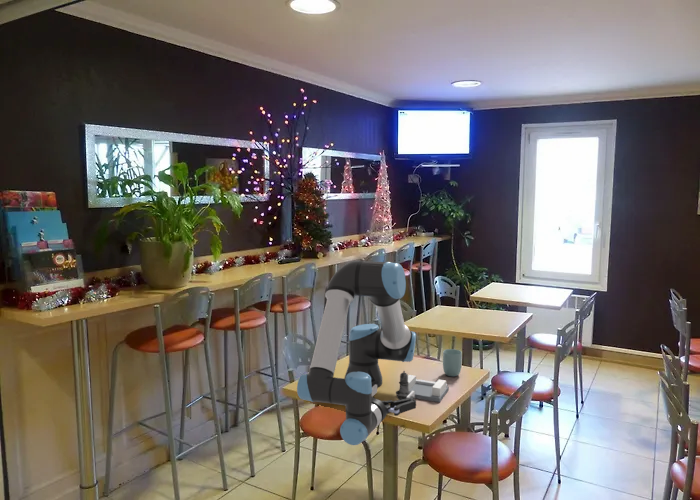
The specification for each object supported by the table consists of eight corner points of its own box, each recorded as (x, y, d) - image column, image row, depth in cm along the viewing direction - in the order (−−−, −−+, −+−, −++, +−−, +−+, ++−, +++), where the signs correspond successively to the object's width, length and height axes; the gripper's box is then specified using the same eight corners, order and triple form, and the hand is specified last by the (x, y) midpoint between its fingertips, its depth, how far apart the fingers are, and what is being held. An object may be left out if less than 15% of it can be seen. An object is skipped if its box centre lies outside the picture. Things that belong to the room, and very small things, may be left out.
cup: (461, 378, 216) (462, 355, 215) (442, 377, 217) (442, 353, 216) (461, 372, 223) (461, 349, 222) (442, 371, 225) (443, 348, 224)
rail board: (398, 395, 198) (398, 383, 198) (409, 383, 210) (409, 372, 209) (439, 402, 192) (440, 390, 191) (448, 390, 203) (448, 379, 203)
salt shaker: (414, 402, 192) (415, 370, 190) (405, 407, 187) (405, 374, 186) (401, 397, 196) (402, 366, 194) (392, 402, 191) (392, 370, 190)
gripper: (334, 418, 168) (361, 395, 187) (409, 433, 158) (429, 408, 177) (335, 395, 167) (361, 375, 186) (410, 409, 157) (429, 386, 176)
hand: (394, 391), depth 182 cm, fingers open, 13 cm apart
